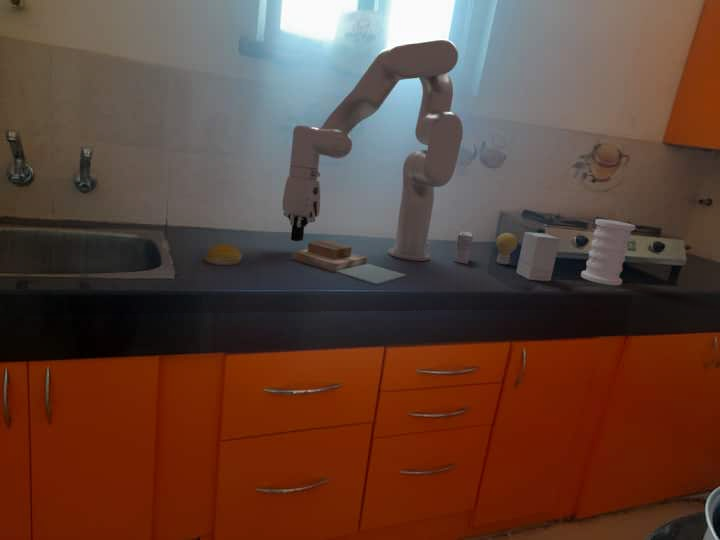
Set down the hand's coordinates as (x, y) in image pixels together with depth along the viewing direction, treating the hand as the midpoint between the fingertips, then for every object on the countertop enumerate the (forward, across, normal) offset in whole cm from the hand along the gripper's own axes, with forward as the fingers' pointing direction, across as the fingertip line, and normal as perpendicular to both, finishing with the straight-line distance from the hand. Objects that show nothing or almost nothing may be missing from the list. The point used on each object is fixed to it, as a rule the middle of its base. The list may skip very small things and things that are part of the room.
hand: (296, 240), depth 138 cm
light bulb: (+3, -42, -51) cm, 66 cm away
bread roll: (+4, +2, +24) cm, 24 cm away
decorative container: (+3, -69, -63) cm, 94 cm away
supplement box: (+3, -54, -43) cm, 69 cm away
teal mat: (+3, -26, 0) cm, 26 cm away
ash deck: (+3, -12, 0) cm, 13 cm away
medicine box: (+3, -32, -41) cm, 52 cm away
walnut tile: (+1, -12, 0) cm, 12 cm away
